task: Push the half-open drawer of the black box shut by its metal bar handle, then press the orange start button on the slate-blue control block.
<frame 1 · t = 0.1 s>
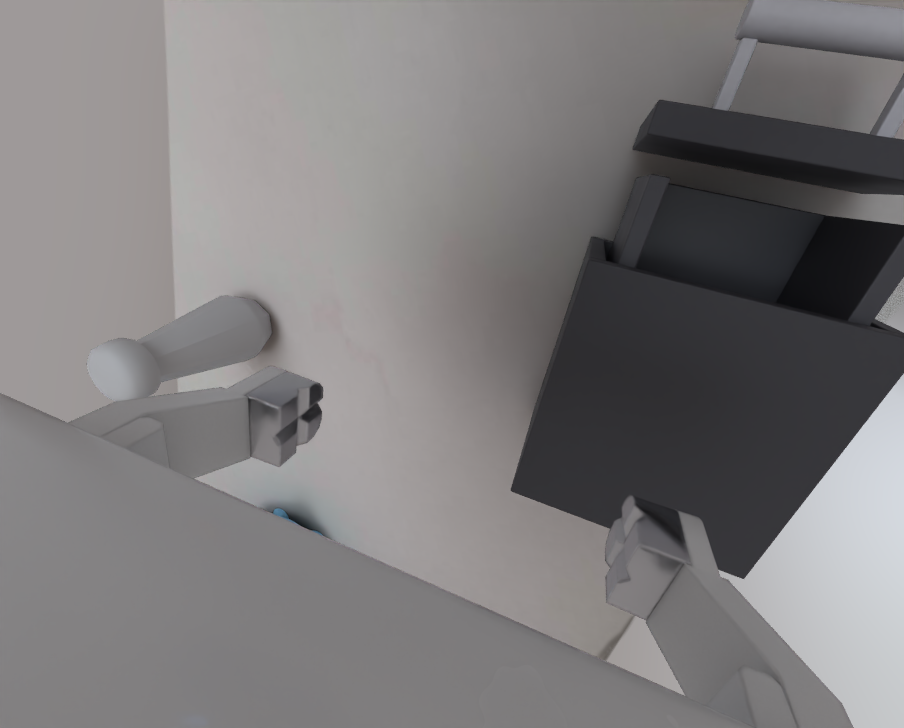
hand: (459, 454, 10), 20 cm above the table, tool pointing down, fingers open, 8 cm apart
black box: (650, 359, 28), on the table
drawer: (735, 233, 20), point 5 cm above the table, slide at 5.0 cm
salt shaker: (255, 320, 38), on the table
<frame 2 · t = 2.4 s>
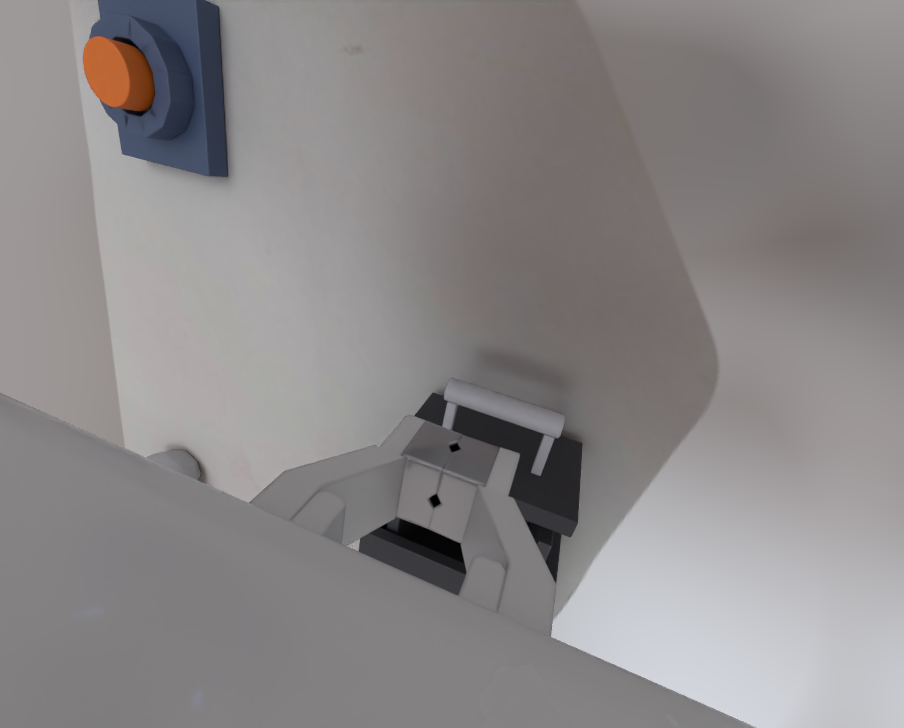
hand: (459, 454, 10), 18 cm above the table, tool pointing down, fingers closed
black box: (471, 531, 37), on the table
drawer: (479, 493, 28), point 5 cm above the table, slide at 5.0 cm
control block: (177, 88, 29), on the table
salt shaker: (187, 463, 46), on the table
start button: (120, 75, 26), point 4 cm above the table, slide at 0.1 cm
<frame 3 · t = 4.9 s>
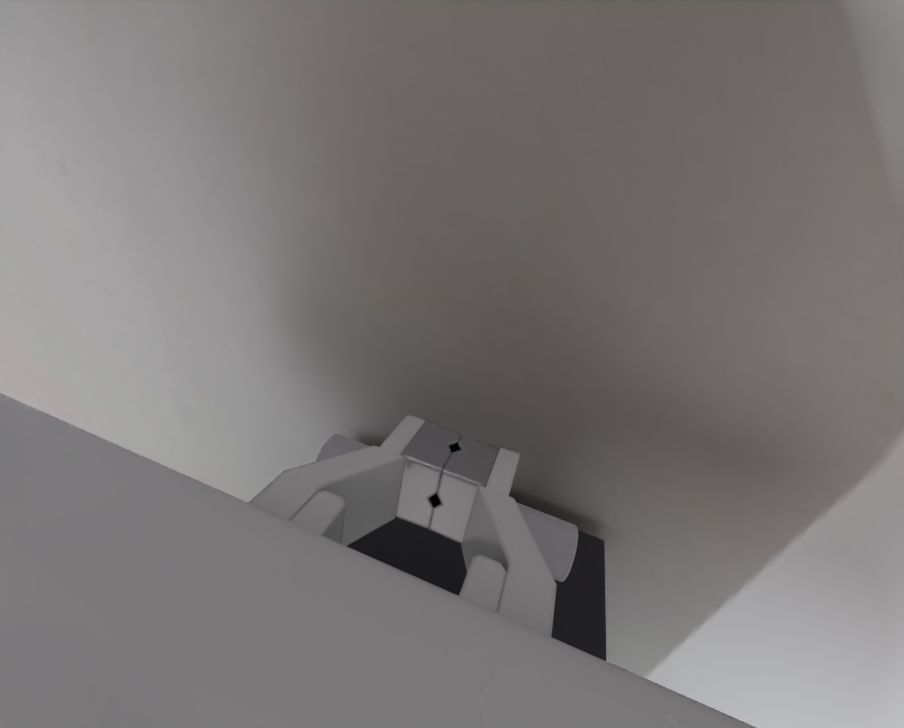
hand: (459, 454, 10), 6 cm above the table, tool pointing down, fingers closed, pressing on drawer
drawer: (413, 634, 15), point 5 cm above the table, slide at 3.7 cm, touching gripper
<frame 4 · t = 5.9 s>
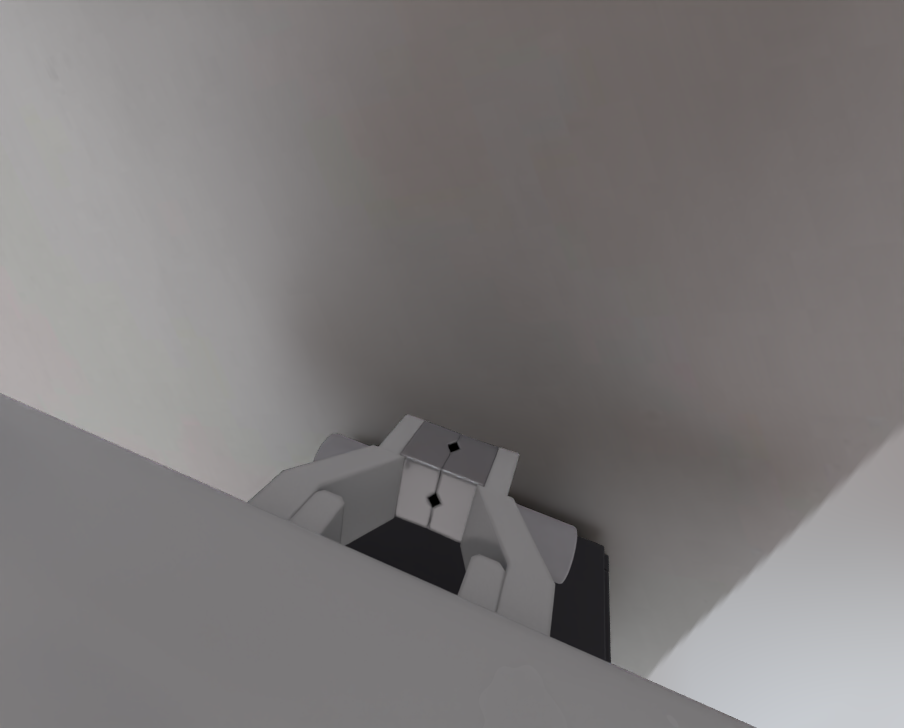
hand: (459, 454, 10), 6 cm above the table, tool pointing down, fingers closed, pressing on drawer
black box: (436, 596, 21), on the table
drawer: (410, 640, 15), point 5 cm above the table, slide at 0.0 cm, touching black box, gripper
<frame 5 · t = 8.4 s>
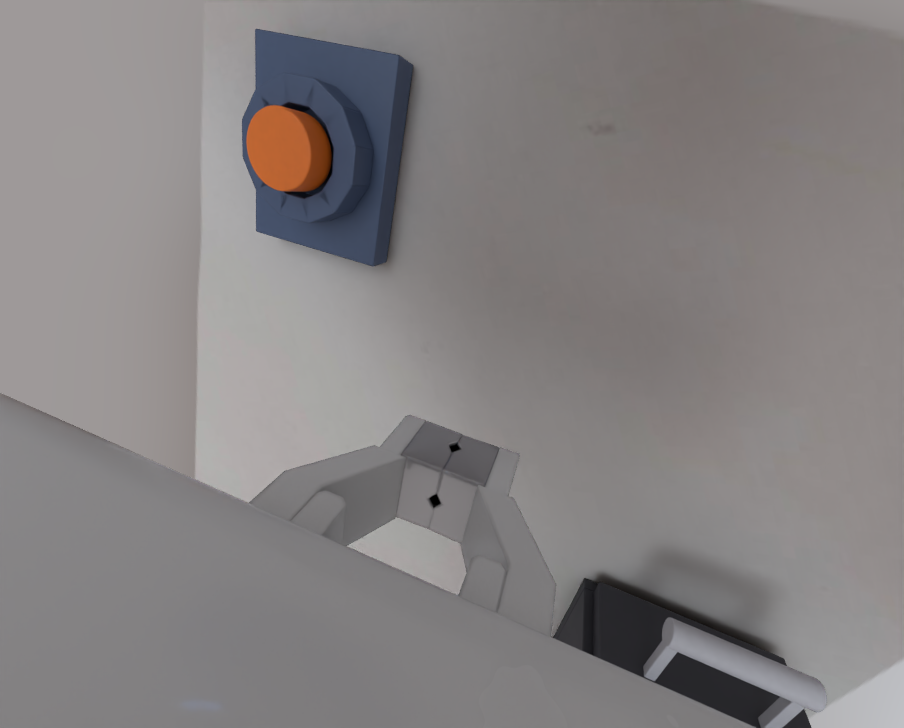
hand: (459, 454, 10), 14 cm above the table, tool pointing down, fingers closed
black box: (636, 671, 31), on the table
drawer: (669, 717, 25), point 5 cm above the table, slide at 0.0 cm, touching black box
control block: (335, 157, 23), on the table
start button: (289, 151, 20), point 4 cm above the table, slide at 0.1 cm
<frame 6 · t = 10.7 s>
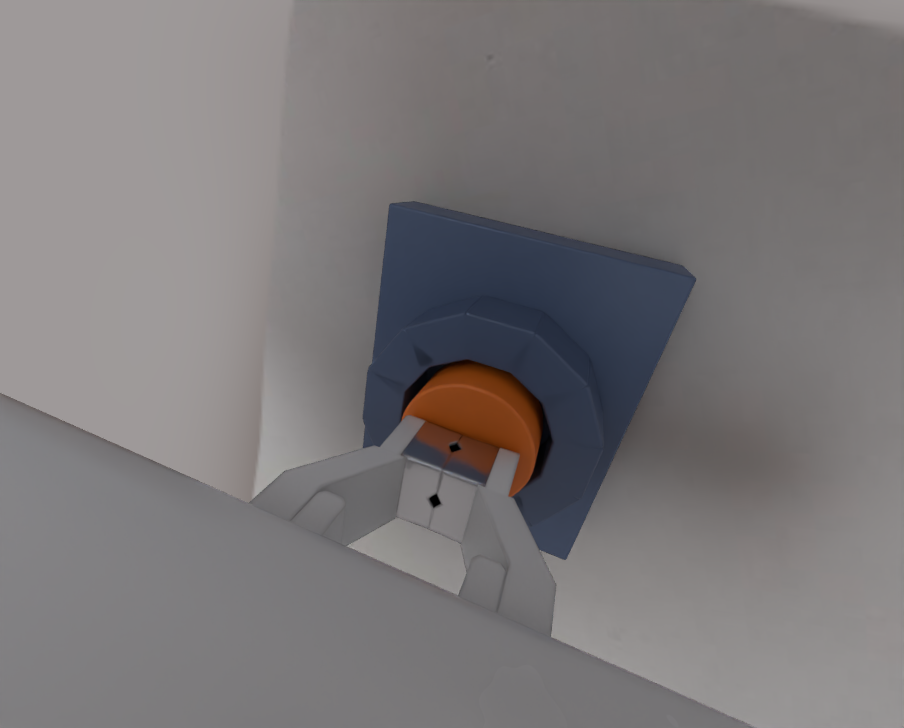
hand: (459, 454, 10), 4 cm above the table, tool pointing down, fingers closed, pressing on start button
control block: (499, 379, 14), on the table
start button: (472, 430, 11), point 3 cm above the table, slide at -0.5 cm, touching gripper
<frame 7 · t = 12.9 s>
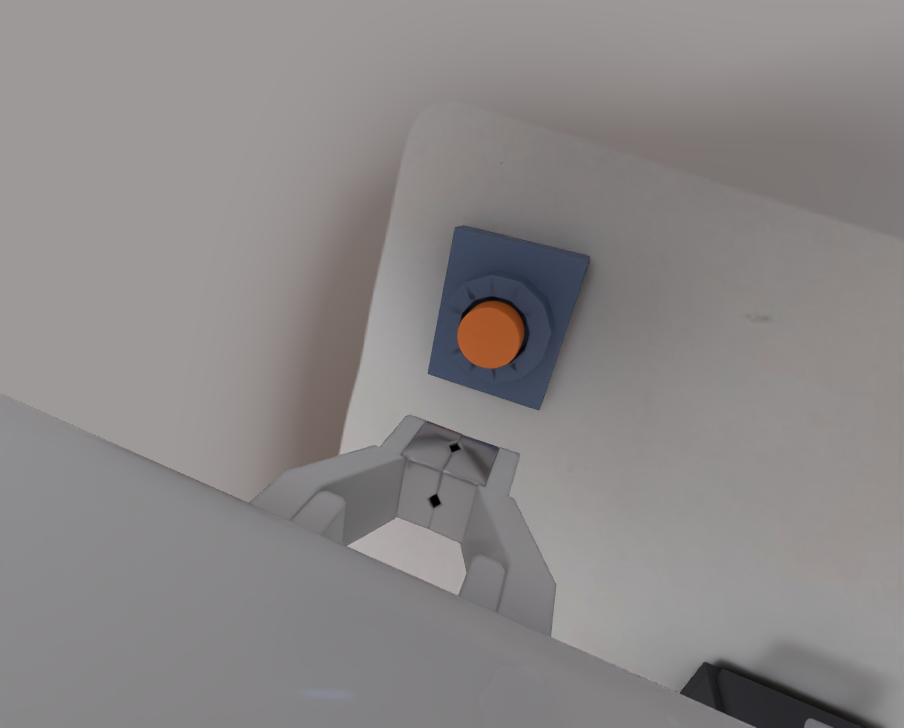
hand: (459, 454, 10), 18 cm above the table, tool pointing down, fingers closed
control block: (504, 316, 27), on the table
start button: (491, 334, 24), point 4 cm above the table, slide at 0.1 cm
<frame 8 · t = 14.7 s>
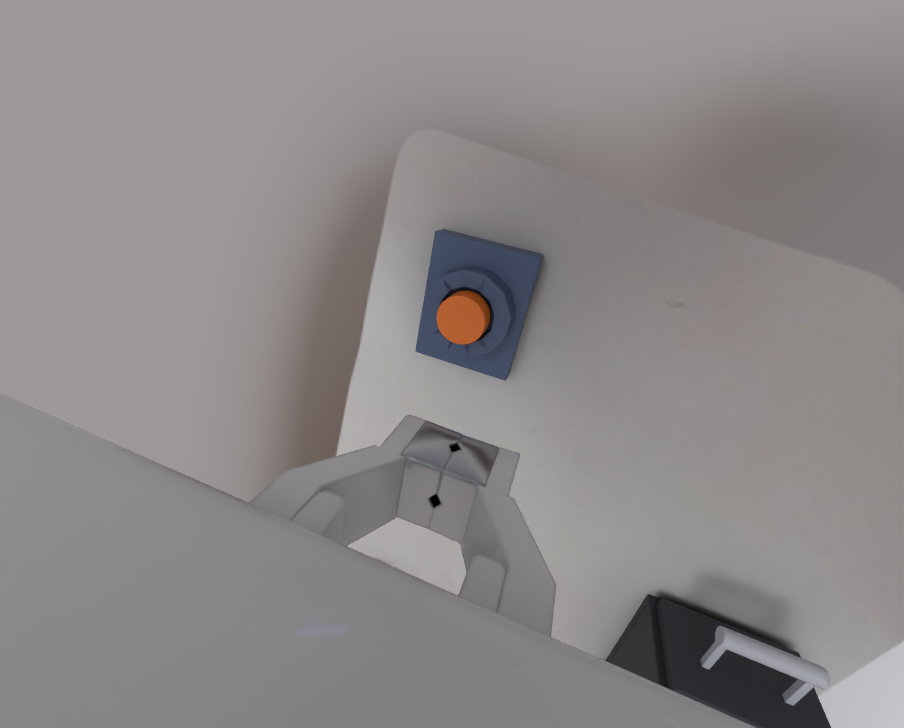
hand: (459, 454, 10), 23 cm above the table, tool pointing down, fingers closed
black box: (686, 663, 41), on the table
drawer: (717, 695, 35), point 5 cm above the table, slide at 0.0 cm, touching black box
control block: (477, 303, 33), on the table
start button: (463, 317, 30), point 4 cm above the table, slide at 0.1 cm
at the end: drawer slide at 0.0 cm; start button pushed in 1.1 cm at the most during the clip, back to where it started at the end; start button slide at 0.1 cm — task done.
